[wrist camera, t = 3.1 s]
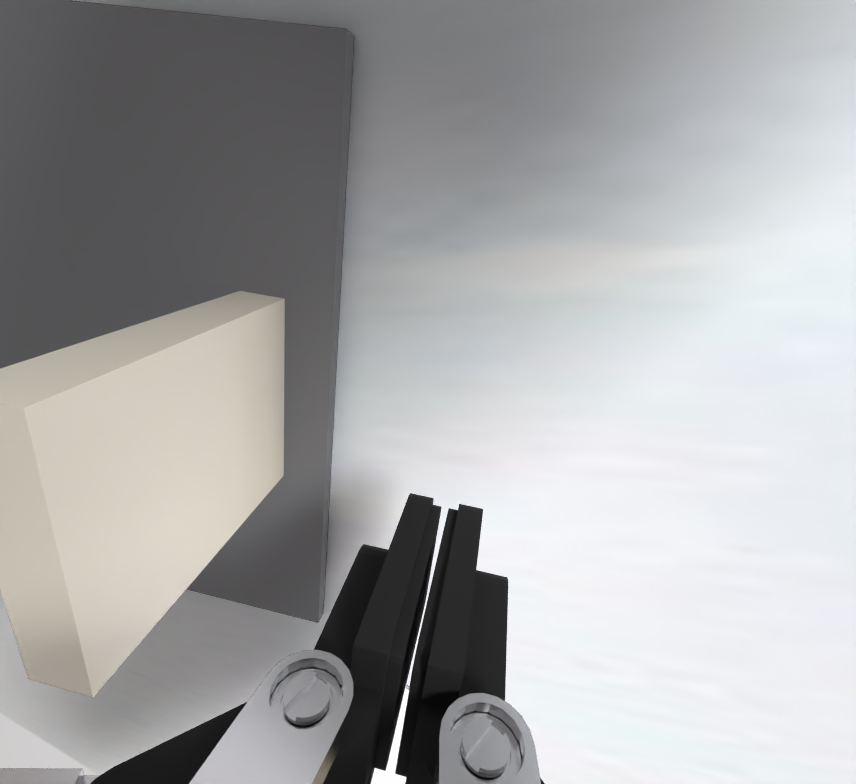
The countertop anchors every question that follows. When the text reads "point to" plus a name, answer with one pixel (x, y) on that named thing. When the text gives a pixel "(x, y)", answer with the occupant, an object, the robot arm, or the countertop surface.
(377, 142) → the countertop surface
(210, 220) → the mat
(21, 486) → the tile
